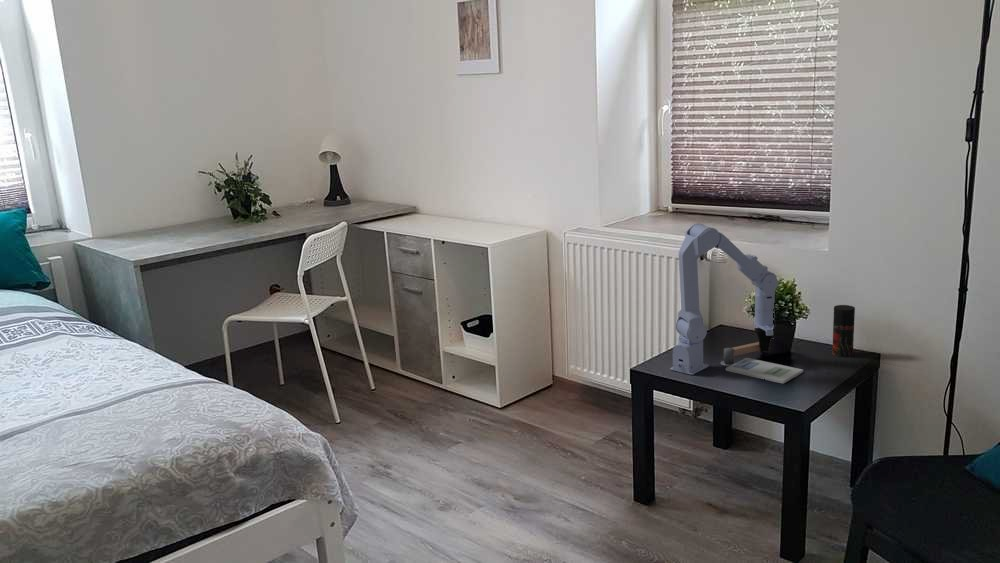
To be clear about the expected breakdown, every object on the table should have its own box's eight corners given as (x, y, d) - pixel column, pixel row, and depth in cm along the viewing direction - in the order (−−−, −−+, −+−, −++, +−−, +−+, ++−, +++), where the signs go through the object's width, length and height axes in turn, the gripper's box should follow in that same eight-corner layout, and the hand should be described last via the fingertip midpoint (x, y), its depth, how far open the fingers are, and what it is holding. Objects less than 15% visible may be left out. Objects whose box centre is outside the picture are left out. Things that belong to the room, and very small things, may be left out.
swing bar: (728, 364, 250) (728, 351, 249) (721, 361, 253) (721, 348, 252) (784, 351, 258) (784, 339, 257) (777, 348, 261) (778, 336, 260)
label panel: (783, 383, 233) (783, 380, 233) (711, 367, 250) (711, 364, 250) (803, 372, 241) (803, 369, 241) (731, 356, 258) (731, 353, 258)
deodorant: (854, 357, 251) (856, 310, 247) (834, 356, 252) (835, 310, 249) (850, 350, 257) (852, 304, 253) (830, 350, 258) (832, 304, 254)
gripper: (784, 314, 243) (783, 358, 246) (772, 302, 257) (772, 343, 260) (759, 315, 244) (759, 358, 247) (749, 303, 258) (749, 344, 261)
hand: (764, 351), depth 254 cm, fingers closed
